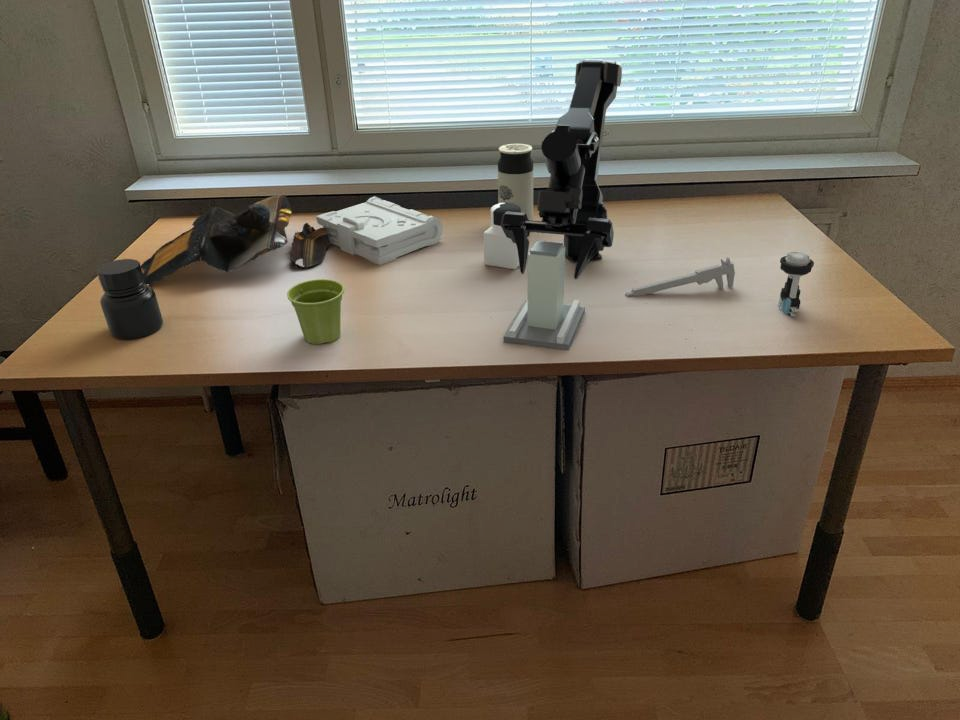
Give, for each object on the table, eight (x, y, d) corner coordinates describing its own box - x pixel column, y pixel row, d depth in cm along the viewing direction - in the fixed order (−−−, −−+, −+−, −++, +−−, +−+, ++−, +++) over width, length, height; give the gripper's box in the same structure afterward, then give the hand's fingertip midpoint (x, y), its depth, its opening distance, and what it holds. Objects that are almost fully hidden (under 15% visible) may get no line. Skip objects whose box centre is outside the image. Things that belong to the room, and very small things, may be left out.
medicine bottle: (528, 257, 150) (528, 201, 144) (515, 270, 144) (515, 213, 138) (497, 252, 153) (496, 198, 146) (483, 265, 147) (482, 208, 141)
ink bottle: (160, 312, 133) (143, 252, 126) (171, 330, 126) (153, 268, 120) (104, 326, 128) (83, 265, 122) (112, 346, 122) (90, 282, 116)
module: (535, 313, 125) (536, 239, 118) (563, 316, 124) (565, 242, 117) (527, 325, 121) (527, 250, 114) (556, 329, 120) (558, 254, 113)
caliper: (729, 287, 135) (734, 256, 132) (732, 289, 134) (737, 258, 131) (625, 295, 133) (627, 264, 130) (626, 298, 132) (629, 267, 129)
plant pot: (361, 328, 124) (355, 283, 120) (330, 354, 117) (322, 306, 113) (316, 320, 128) (309, 275, 123) (283, 344, 120) (274, 297, 116)
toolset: (131, 302, 135) (101, 189, 143) (165, 343, 153) (137, 241, 161) (335, 240, 143) (295, 137, 152) (344, 286, 161) (308, 192, 170)
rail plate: (525, 305, 130) (525, 294, 129) (584, 312, 127) (585, 301, 126) (503, 341, 119) (503, 330, 118) (568, 350, 116) (568, 338, 115)
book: (371, 215, 177) (367, 185, 173) (446, 242, 159) (443, 210, 155) (305, 238, 166) (299, 206, 162) (377, 270, 148) (372, 235, 144)
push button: (809, 319, 122) (821, 265, 117) (776, 318, 123) (787, 264, 118) (798, 302, 128) (810, 250, 123) (768, 301, 128) (778, 249, 123)
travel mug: (520, 217, 171) (520, 141, 162) (539, 226, 166) (540, 148, 156) (492, 224, 168) (490, 146, 159) (511, 233, 162) (510, 154, 153)
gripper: (502, 164, 118) (484, 252, 115) (615, 171, 113) (599, 262, 110) (515, 196, 129) (499, 276, 125) (619, 203, 123) (605, 287, 120)
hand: (548, 275), depth 120 cm, fingers open, 9 cm apart
